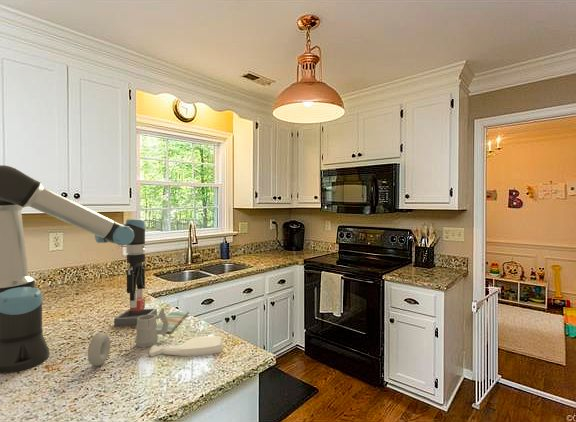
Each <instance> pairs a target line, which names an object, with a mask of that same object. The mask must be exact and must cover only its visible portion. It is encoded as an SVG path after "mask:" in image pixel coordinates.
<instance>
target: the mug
mask: <svg viewBox="0 0 576 422" xmlns="http://www.w3.org/2000/svg"><path fill="white" fill-rule="evenodd" d="M166 317H167V315H166V313H165V308H163V307H162V308H161V310H160V311H159V315H158V314H157V316H155V315H152V314H148V315H142V316H139V317H138V318H137V325H136V326H135V330H136V338H135V340H134V341H135V344H136V347H138V348H148V347H152V346H153V345H154V344H155V345H156V344H157V342H158V337H159V336H158V335H162V336H163V337H165V336H166V334H167V333H166V332H167V331H168V325H169V323H168V320H167V318H166ZM159 319H160V320H161V321H163V327H162V329H161V330H160V329H156V326H157V325H158V323H157V320H159Z"/></svg>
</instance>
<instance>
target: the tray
mask: <svg viewBox="0 0 576 422" xmlns="http://www.w3.org/2000/svg"><path fill="white" fill-rule="evenodd" d="M148 314H152V315H155V316H158V308H144V309H143V310H141V311H130V308H128V309H127V310H125V311H124V312H122V313H120V314H119V315H117V316H116V317H115V318H114V319H113V326H114V327H120V326H121V327H127V326H128V327H129V326H130V327H136V325H137V318H138V317H139V316H142V315H148Z"/></svg>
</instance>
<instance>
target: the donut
mask: <svg viewBox="0 0 576 422" xmlns="http://www.w3.org/2000/svg"><path fill="white" fill-rule="evenodd" d="M110 351H111V339H110V336H109V335H108V334H107V333H106V332H105V333H104V332H100V333H96V334H95V335H94V336H93V337H92V339H91V341H90V342H89V346H88V350H87V359H88V362H89V364H90V365H91V366H93V367H99V366H102V365H103V364H104V363H105V362H106V361H107V359H108V357H109V354H110Z"/></svg>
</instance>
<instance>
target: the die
mask: <svg viewBox="0 0 576 422" xmlns="http://www.w3.org/2000/svg"><path fill="white" fill-rule="evenodd" d="M145 303H146V298H145V297H143V298H137V307H136V308H130V307H129V309H130V311H141V310H143V309H146V308H145V307H146V304H145Z"/></svg>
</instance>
